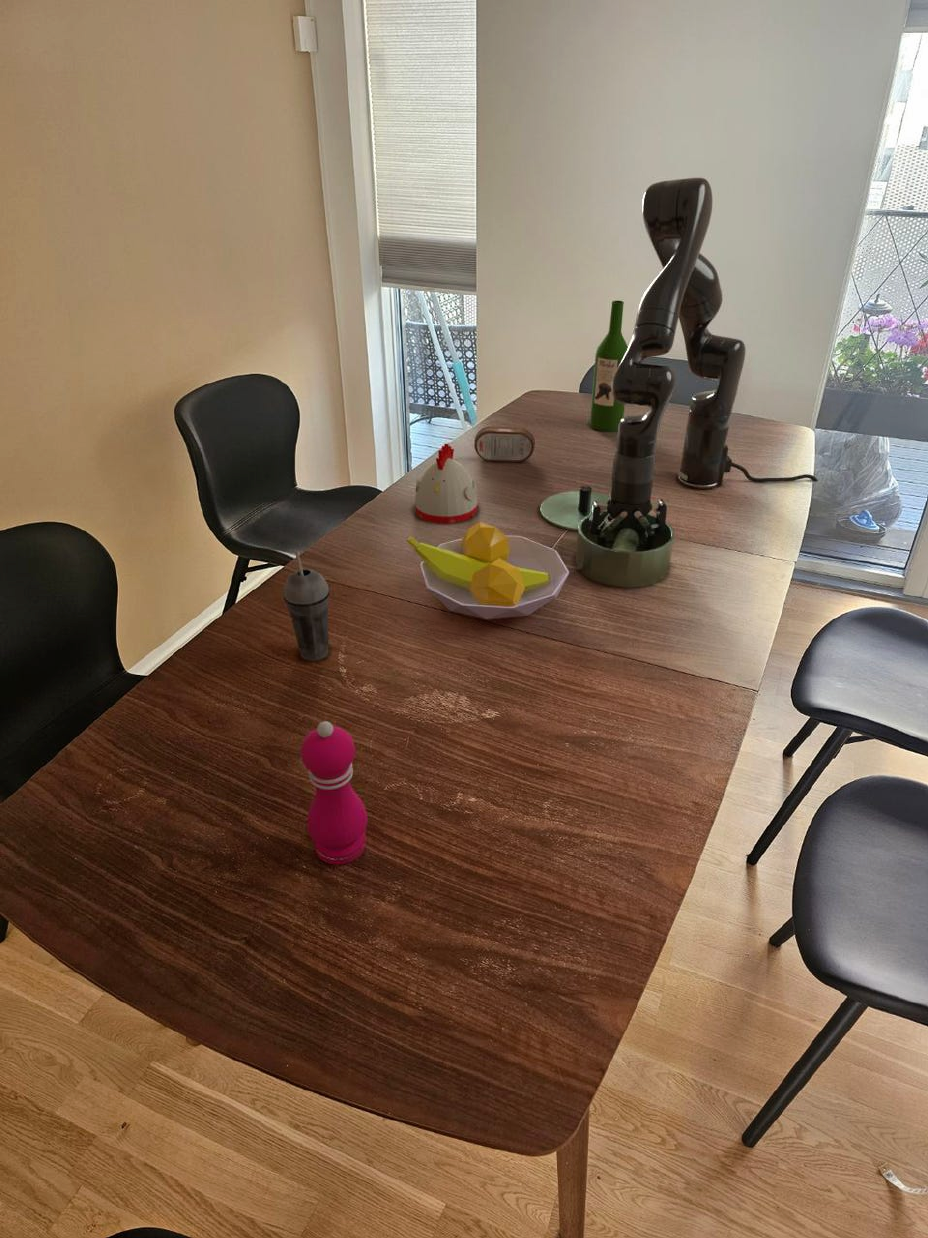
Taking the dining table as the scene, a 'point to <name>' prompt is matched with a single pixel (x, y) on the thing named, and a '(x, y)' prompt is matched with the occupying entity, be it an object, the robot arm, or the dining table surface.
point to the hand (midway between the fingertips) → (623, 551)
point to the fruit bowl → (491, 573)
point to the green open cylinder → (624, 556)
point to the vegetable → (626, 541)
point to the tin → (504, 444)
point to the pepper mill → (333, 795)
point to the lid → (570, 507)
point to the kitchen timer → (445, 491)
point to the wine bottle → (608, 375)
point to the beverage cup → (308, 611)
